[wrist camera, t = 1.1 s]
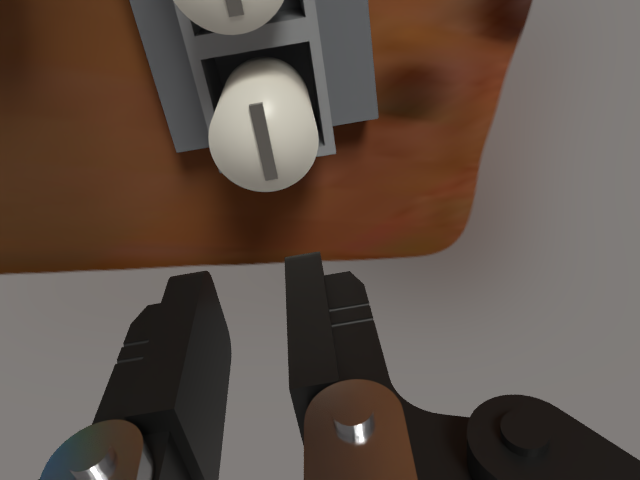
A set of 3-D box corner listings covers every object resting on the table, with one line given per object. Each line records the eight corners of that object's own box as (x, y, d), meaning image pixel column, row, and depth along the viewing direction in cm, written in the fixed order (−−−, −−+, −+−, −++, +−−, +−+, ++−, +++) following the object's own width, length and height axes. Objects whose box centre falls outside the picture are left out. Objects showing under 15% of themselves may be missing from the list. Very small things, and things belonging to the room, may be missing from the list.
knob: (212, 64, 23) (194, 98, 18) (301, 49, 23) (309, 78, 18) (233, 149, 25) (223, 202, 20) (315, 135, 25) (326, 184, 20)
